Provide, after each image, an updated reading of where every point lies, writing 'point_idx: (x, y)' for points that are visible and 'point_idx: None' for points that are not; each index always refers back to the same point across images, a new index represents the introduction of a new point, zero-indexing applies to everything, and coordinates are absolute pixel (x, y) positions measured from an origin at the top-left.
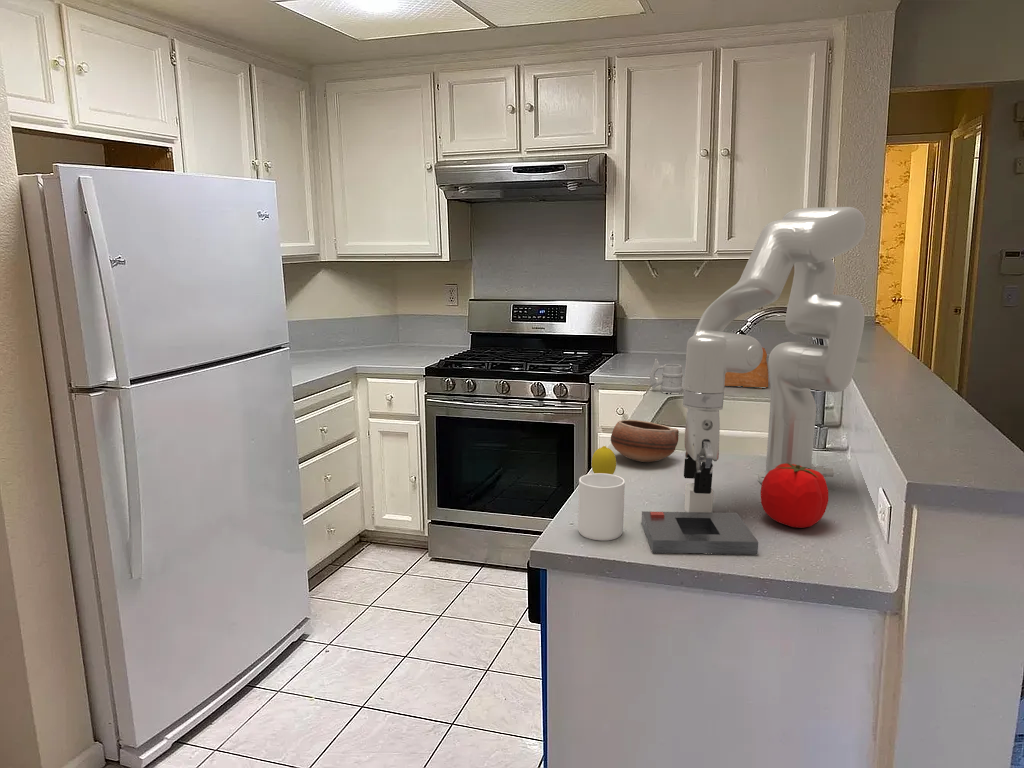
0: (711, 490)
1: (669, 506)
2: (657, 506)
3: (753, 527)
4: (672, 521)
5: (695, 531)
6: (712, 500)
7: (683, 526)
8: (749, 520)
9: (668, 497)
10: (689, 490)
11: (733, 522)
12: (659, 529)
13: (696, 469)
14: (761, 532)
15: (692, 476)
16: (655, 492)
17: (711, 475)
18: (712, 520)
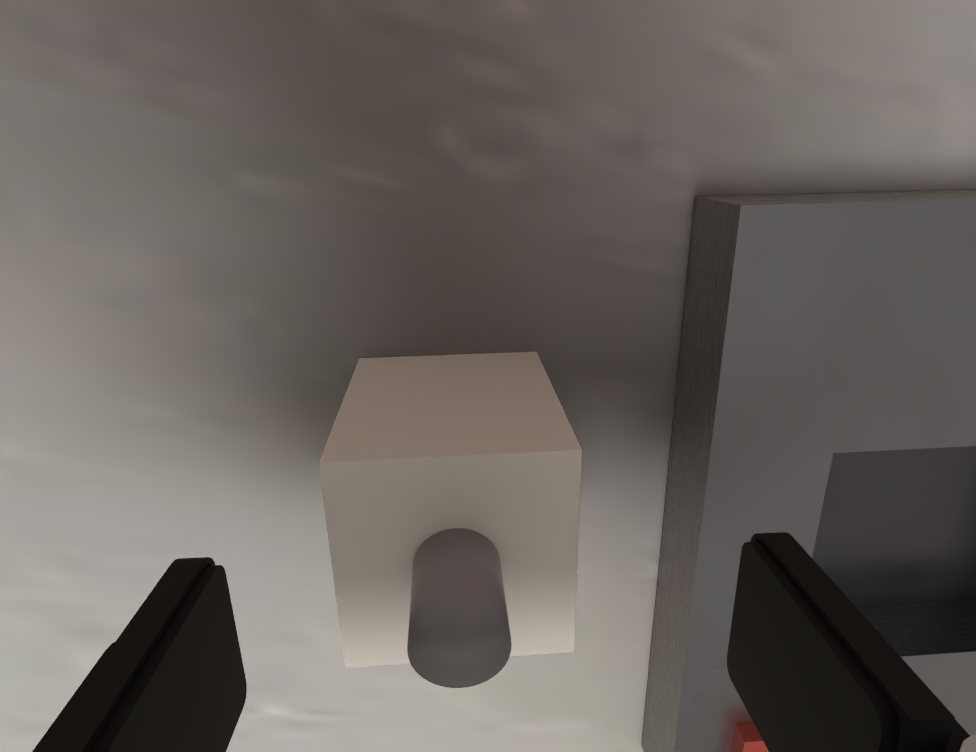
0: (568, 468)
1: (331, 594)
2: (343, 659)
3: (756, 58)
4: None
5: (829, 509)
6: (563, 410)
7: None
8: (595, 47)
9: (132, 585)
10: (538, 646)
11: (957, 293)
12: None
13: (182, 678)
14: (868, 16)
15: (230, 642)
16: (39, 654)
17: (928, 699)
18: (882, 444)
